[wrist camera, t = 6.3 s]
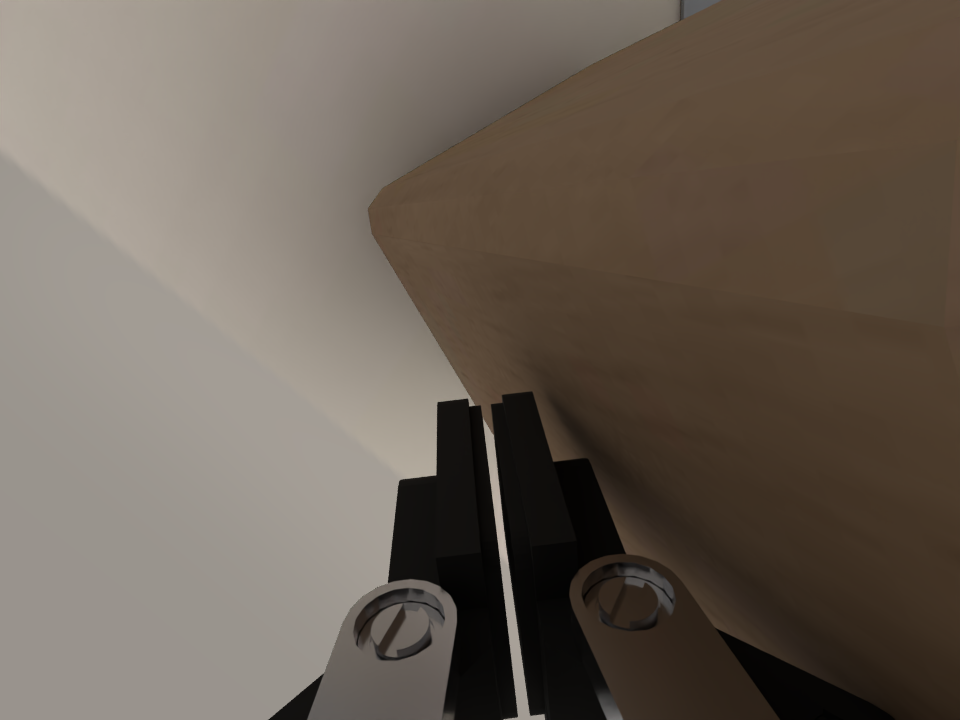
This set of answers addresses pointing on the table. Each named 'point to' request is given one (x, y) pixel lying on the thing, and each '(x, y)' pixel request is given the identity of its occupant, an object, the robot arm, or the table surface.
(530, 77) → the table surface
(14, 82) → the table surface
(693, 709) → the robot arm
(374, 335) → the table surface
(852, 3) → the wooden block
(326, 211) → the table surface
